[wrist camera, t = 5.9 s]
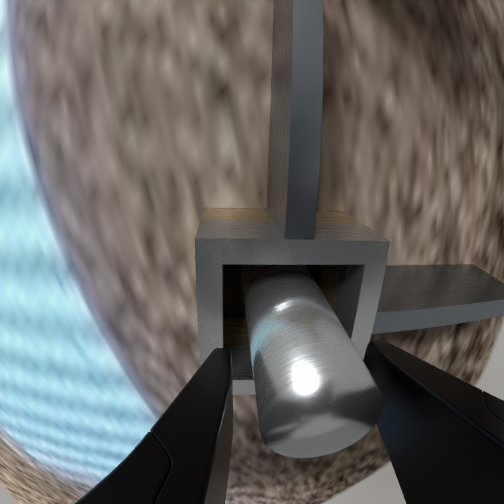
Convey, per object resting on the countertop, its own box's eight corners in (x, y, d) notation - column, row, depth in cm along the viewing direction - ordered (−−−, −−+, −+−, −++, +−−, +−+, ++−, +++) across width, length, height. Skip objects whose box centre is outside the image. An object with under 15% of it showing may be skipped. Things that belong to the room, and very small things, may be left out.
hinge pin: (300, 300, 14) (365, 448, 6) (240, 301, 14) (257, 462, 6) (306, 243, 13) (398, 369, 5) (241, 242, 13) (264, 383, 5)
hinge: (458, 316, 15) (500, 355, 11) (207, 331, 14) (202, 394, 10) (486, 36, 10) (539, 24, 6) (216, -30, 9) (213, -86, 5)
